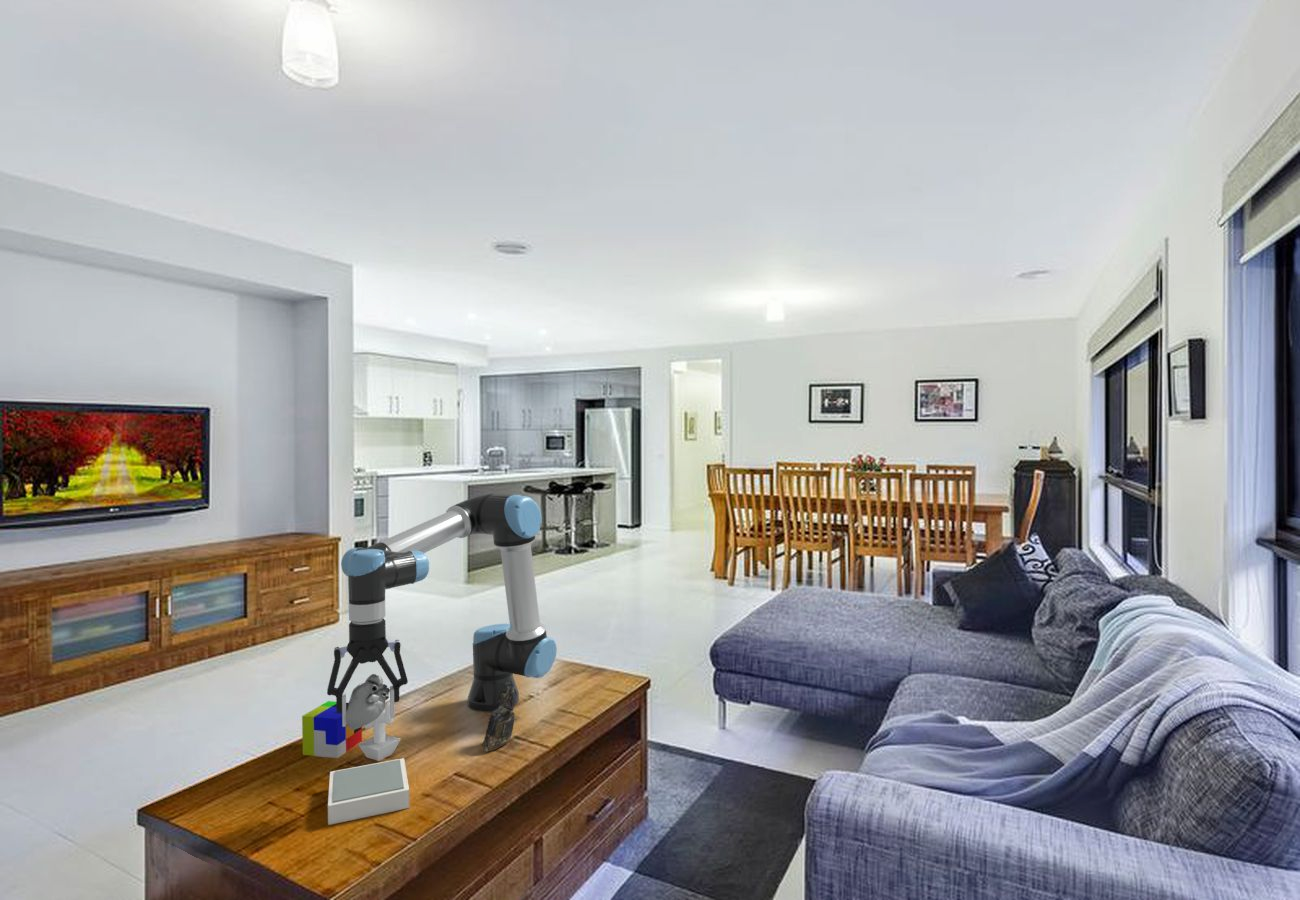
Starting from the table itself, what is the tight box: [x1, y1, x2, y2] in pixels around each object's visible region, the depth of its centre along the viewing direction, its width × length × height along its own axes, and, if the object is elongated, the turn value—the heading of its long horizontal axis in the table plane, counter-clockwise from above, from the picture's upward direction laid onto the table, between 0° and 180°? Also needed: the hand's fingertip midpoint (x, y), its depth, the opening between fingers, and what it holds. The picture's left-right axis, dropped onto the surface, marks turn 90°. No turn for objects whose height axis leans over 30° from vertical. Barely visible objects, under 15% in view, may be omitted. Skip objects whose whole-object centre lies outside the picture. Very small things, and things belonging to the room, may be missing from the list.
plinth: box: [327, 757, 410, 826], centre depth 152 cm, size 16×16×4 cm
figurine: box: [357, 701, 402, 762], centre depth 173 cm, size 7×9×15 cm
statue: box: [482, 682, 515, 752], centre depth 179 cm, size 6×12×15 cm, turn 155°
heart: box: [346, 673, 390, 730], centre depth 151 cm, size 10×10×12 cm
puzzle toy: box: [301, 700, 363, 759], centre depth 177 cm, size 10×10×10 cm
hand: (368, 720), depth 152 cm, fingers closed on heart, 9 cm apart
